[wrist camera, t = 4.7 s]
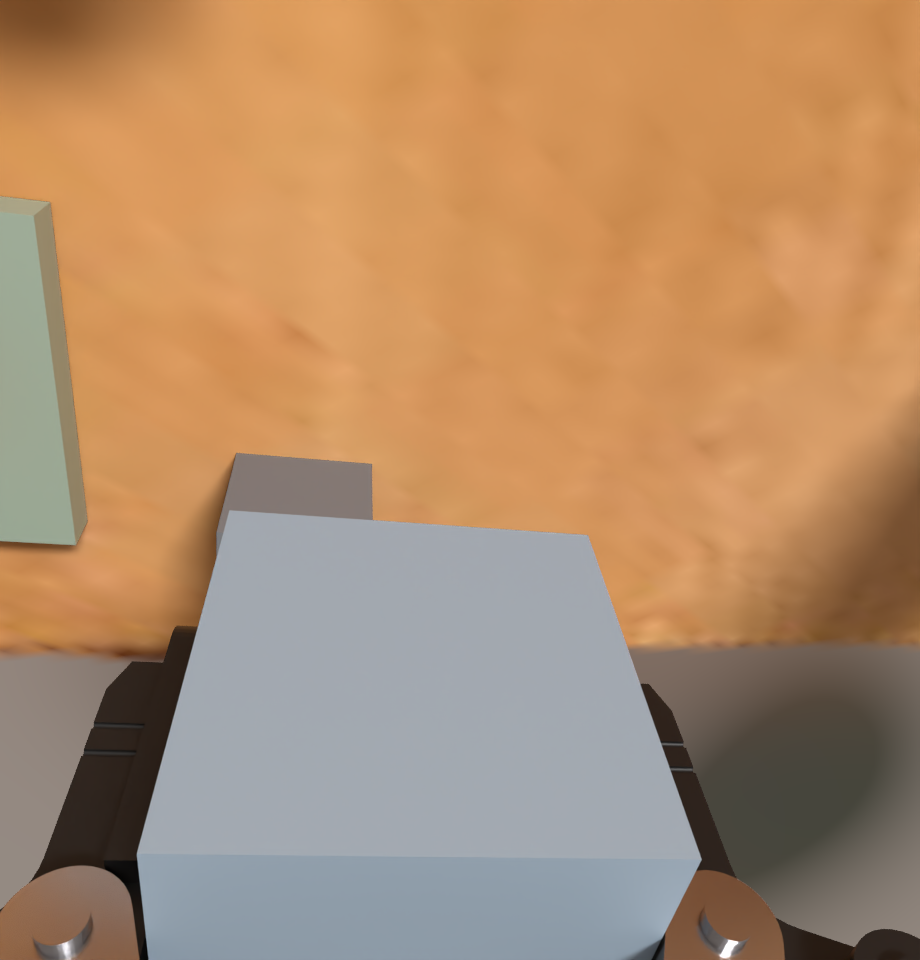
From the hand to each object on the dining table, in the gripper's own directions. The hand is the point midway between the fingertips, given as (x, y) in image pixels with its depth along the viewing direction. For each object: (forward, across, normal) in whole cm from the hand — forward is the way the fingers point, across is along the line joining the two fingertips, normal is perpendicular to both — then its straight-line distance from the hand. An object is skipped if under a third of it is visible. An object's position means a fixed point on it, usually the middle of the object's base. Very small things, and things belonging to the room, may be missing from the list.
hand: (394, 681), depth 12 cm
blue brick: (+1, 0, 0) cm, 1 cm away
